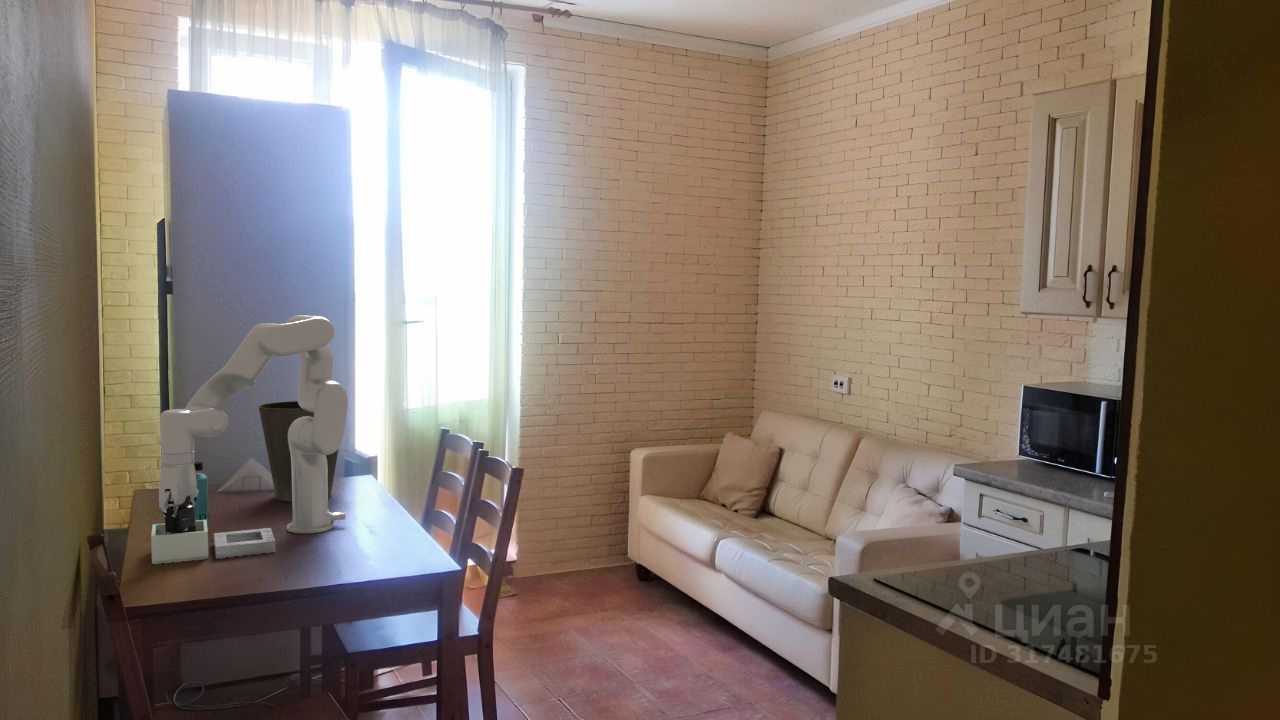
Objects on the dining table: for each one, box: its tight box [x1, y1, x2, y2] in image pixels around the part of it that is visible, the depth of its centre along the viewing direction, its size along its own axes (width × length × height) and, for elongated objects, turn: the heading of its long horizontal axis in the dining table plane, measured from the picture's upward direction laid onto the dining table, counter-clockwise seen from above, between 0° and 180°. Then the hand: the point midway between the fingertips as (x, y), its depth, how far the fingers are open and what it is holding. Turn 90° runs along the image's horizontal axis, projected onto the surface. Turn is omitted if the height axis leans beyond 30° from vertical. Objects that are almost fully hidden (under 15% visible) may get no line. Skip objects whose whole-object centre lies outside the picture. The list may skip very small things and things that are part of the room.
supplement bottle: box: [166, 495, 196, 535], centre depth 240 cm, size 7×7×12 cm
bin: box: [150, 520, 209, 565], centre depth 241 cm, size 13×13×7 cm
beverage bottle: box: [194, 460, 211, 530], centre depth 260 cm, size 6×7×20 cm
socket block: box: [213, 527, 277, 560], centre depth 247 cm, size 14×14×3 cm
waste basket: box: [257, 400, 339, 503], centre depth 305 cm, size 27×20×30 cm
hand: (180, 527), depth 241 cm, fingers closed on supplement bottle, 6 cm apart
